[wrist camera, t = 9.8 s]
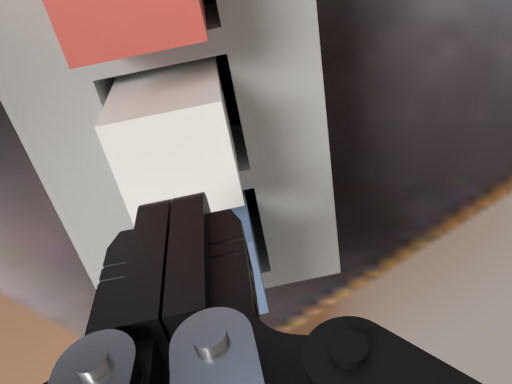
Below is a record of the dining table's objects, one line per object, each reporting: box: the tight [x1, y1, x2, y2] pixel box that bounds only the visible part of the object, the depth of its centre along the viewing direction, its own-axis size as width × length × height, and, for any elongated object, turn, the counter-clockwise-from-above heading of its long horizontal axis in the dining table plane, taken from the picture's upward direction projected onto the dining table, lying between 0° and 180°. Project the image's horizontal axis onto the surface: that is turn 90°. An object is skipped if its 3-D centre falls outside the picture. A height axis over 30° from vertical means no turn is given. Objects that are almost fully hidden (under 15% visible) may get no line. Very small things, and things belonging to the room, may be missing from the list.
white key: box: [94, 56, 245, 225], centre depth 15 cm, size 3×3×4 cm
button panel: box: [0, 0, 341, 290], centre depth 17 cm, size 10×16×4 cm, turn 10°
